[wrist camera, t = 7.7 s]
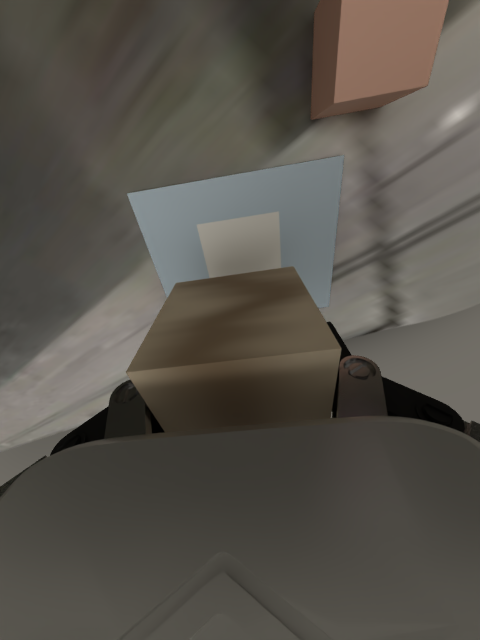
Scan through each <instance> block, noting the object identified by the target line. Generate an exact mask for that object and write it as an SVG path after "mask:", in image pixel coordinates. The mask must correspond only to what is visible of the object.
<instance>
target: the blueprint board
mask: <svg viewBox="0 0 480 640" xmlns="http://www.w3.org/2000/svg"><path fill="white" fill-rule="evenodd" d="M343 163H344V155H341V156H336V157H330V158H324V159H319V160H313V161H307V162H302V163H296V164H291V165H285V166H279V167H274V168H268V169H262V170H257V171H251V172H246V173H240V174H234V175H229V176H223V177H217V178H212V179H206V180H201V181H195V182H189V183H184V184H178V185H172V186H167V187H161V188H155V189H150V190H144V191H139V192H133V193H128V194H127V195H128V198H129V200H130V203H131V206H132V208H133V211H134V213H135V216H136V219H137V221H138V224H139V226H140V229H141V231H142V234H143V237H144V239H145V242H146V244H147V247H148V250H149V252H150V255H151V257H152V260H153V263H154V265H155V268H156V270H157V273H158V276H159V278H160V281H161V283H162V286H163V289H164V291H165V294H166V296H167V298H168V296H169V294H170V293H171V291H172V289H173V287H174V285H175V284H176V283H179V282H186V281H193V280H200V279H207V278H214V277H221V276H228V275H235V274H242V273H249V272H256V271H263V270H270V269H277V268H284V267H291V266H294V268H295V270H296V271H297V273H298V275H299V276H300V278H301V280H302V282H303V283H304V285H305V287H306V288H307V290H308V292H309V294H310V295H311V297H312V299H313V300H314V302H315V304H316V306H317V307H318V308H322V307H329V301H330V291H331V281H332V271H333V261H334V252H335V242H336V232H337V222H338V212H339V202H340V193H341V183H342V173H343Z"/></svg>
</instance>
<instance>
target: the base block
mask: <svg viewBox="0 0 480 640" xmlns="http://www.w3.org/2000/svg"><path fill="white" fill-rule="evenodd" d="M340 355H341V347H340V345H339V343H338V342H337V340H336V338H335V336H334V335H333V333H332V331H331V330H330V328H329V326H328V324H327V323H326V321H325V319H324V318H323V316H322V314H321V312H320V311H319V309H318V307H317V306H316V304H315V302H314V300H313V299H312V297H311V295H310V294H309V292H308V290H307V288H306V287H305V285H304V283H303V282H302V280H301V278H300V276H299V275H298V273H297V271H296V270H295V268H294V266H291V267H284V268H277V269H270V270H263V271H256V272H249V273H242V274H235V275H228V276H221V277H214V278H207V279H200V280H193V281H186V282H179V283H176V284H175V285H174V287H173V289H172V291H171V293H170V294H169V296H168V298H167V300H166V301H165V303H164V305H163V307H162V309H161V310H160V312H159V314H158V316H157V318H156V319H155V321H154V323H153V325H152V327H151V328H150V330H149V332H148V334H147V335H146V337H145V339H144V341H143V343H142V344H141V346H140V348H139V350H138V352H137V353H136V355H135V357H134V359H133V360H132V362H131V364H130V366H129V368H128V369H127V371H126V373H127V375H128V376H129V378H130V380H131V381H132V383H133V384H134V386H135V387H136V389H137V390H138V392H139V393H140V395H141V396H142V398H143V399H144V401H145V402H146V404H147V406H148V407H149V409H150V410H151V412H152V413H153V415H154V416H155V418H156V419H157V421H158V422H159V424H160V425H161V427H162V428H163V430H164V431H165V432H175V431H186V430H197V429H208V428H220V427H231V426H243V425H254V424H266V423H278V422H290V421H303V420H315V419H328V418H331V411H332V405H333V399H334V392H335V386H336V380H337V374H338V367H339V361H340Z"/></svg>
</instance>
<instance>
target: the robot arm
mask: <svg viewBox="0 0 480 640" xmlns="http://www.w3.org/2000/svg"><path fill="white" fill-rule="evenodd" d="M326 323H327V324H328V326H329V328H330V330H331V331H332V333H333V335H334V336H335V338H336V340H337V342H338V343H339V345H340V347H341V355H340V361H339V367H338V374H337V380H336V386H335V392H334V399H333V405H332V418H328V419H315V420H303V421H290V422H278V423H266V424H254V425H243V426H231V427H220V428H208V429H197V430H186V431H175V432H165V431H164V430H163V428H162V427H161V425H160V424H159V422H158V421H157V419H156V418H155V416H154V415H153V413H152V412H151V410H150V409H149V407H148V406H147V404H146V402H145V401H144V399H143V398H142V396H141V395H140V393H139V392H138V390H137V389H136V387H135V386H134V384H133V383H132V381H131V380H128V381H126V382H124V383H122V384H121V385H119V386H118V387H117V388H116V389H115V390H114V391H113V393H112V394H111V397H110V401H109V406H108V407H107V408H105V409H104V410H102V411H101V412H99V413H98V414H97V415H95V416H94V417H92V418H91V419H89V420H88V421H86V422H85V423H83V424H82V425H81V426H79V427H78V428H76V429H75V430H73V431H72V432H70V433H69V434H67V435H66V436H65V437H64V438H63V439H61V440H60V441H59V443H57V445H56V446H55V447H54V449H53V450H52V452H51V454H50V456H49V457H47V456H44V457H43V458H41V459H39V460H38V461H37V462H35V463H34V464H32V465H31V466H29V467H28V468H26V469H25V470H23V471H22V472H21V473H19V474H18V475H16V476H15V477H13V478H12V479H10V480H9V481H8V482H6V483H5V484H3V485H2V486H0V640H480V424H479V423H476V422H474V421H471V422H470V423H468V422H466V421H464V420H462V418H461V417H460V416H459V414H458V413H457V412H456V411H455V410H453V409H452V408H450V407H449V406H448V405H446V404H444V403H442V402H440V401H438V400H436V399H433V398H431V397H428V396H426V395H424V394H422V393H419V392H417V391H415V390H412V389H410V388H408V387H405V386H403V385H401V384H398V383H396V382H394V381H391V380H389V379H387V378H384V377H382V376H381V371H380V369H379V367H378V366H377V364H375V363H374V362H373V361H372V360H370V359H368V358H365V357H362V356H354V355H351V354H350V352H349V350H348V349H347V347H346V345H345V344H344V342H343V340H342V339H341V337H340V336H339V334H338V332H337V331H336V329H335V327H334V326H333V324H332V323H331V322H326Z"/></svg>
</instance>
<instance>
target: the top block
mask: <svg viewBox="0 0 480 640" xmlns="http://www.w3.org/2000/svg"><path fill="white" fill-rule="evenodd" d="M448 2H449V0H320V1H319V4H318V6H317V8H316V10H315V12H314V37H313V67H312V96H311V120H314V119H319V118H324V117H330V116H335V115H341V114H346V113H352V112H357V111H362V110H368V109H373V108H379V107H382V106H384V105H386V104H388V103H390V102H393V101H395V100H397V99H399V98H402V97H404V96H406V95H408V94H410V93H413V92H415V91H417V90H419V89H421V88H424V87H426V86H428V83H429V79H430V75H431V71H432V67H433V62H434V58H435V54H436V50H437V46H438V42H439V38H440V34H441V30H442V26H443V22H444V18H445V14H446V10H447V6H448Z"/></svg>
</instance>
